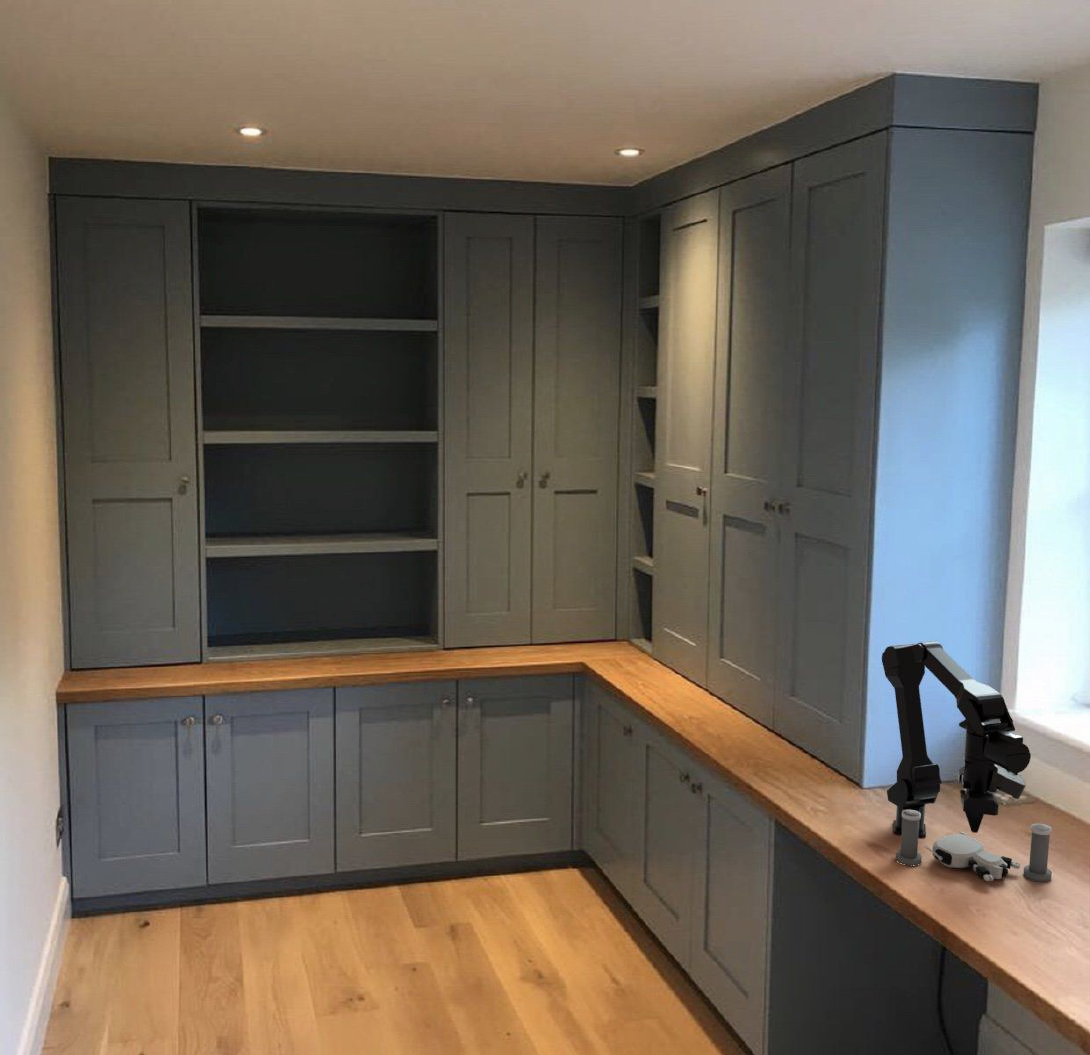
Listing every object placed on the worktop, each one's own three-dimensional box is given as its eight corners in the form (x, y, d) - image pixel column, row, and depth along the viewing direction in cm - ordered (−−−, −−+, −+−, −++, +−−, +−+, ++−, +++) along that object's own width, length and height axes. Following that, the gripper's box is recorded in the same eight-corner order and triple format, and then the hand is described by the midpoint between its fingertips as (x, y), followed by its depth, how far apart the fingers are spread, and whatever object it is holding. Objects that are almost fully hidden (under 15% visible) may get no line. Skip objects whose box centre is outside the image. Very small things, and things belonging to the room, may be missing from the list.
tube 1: (895, 854, 249) (898, 807, 247) (921, 857, 247) (924, 809, 246) (895, 864, 244) (898, 816, 242) (921, 867, 242) (925, 819, 241)
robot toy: (1022, 878, 241) (955, 847, 252) (1026, 857, 240) (958, 826, 251) (987, 895, 233) (919, 862, 245) (990, 873, 232) (922, 841, 244)
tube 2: (1022, 869, 242) (1026, 821, 241) (1049, 872, 241) (1053, 824, 239) (1024, 880, 238) (1028, 830, 236) (1052, 883, 236) (1057, 834, 235)
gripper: (1029, 776, 228) (1023, 856, 231) (1019, 744, 246) (1013, 818, 248) (966, 770, 231) (960, 849, 233) (960, 738, 249) (955, 812, 251)
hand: (974, 831), depth 241 cm, fingers closed
